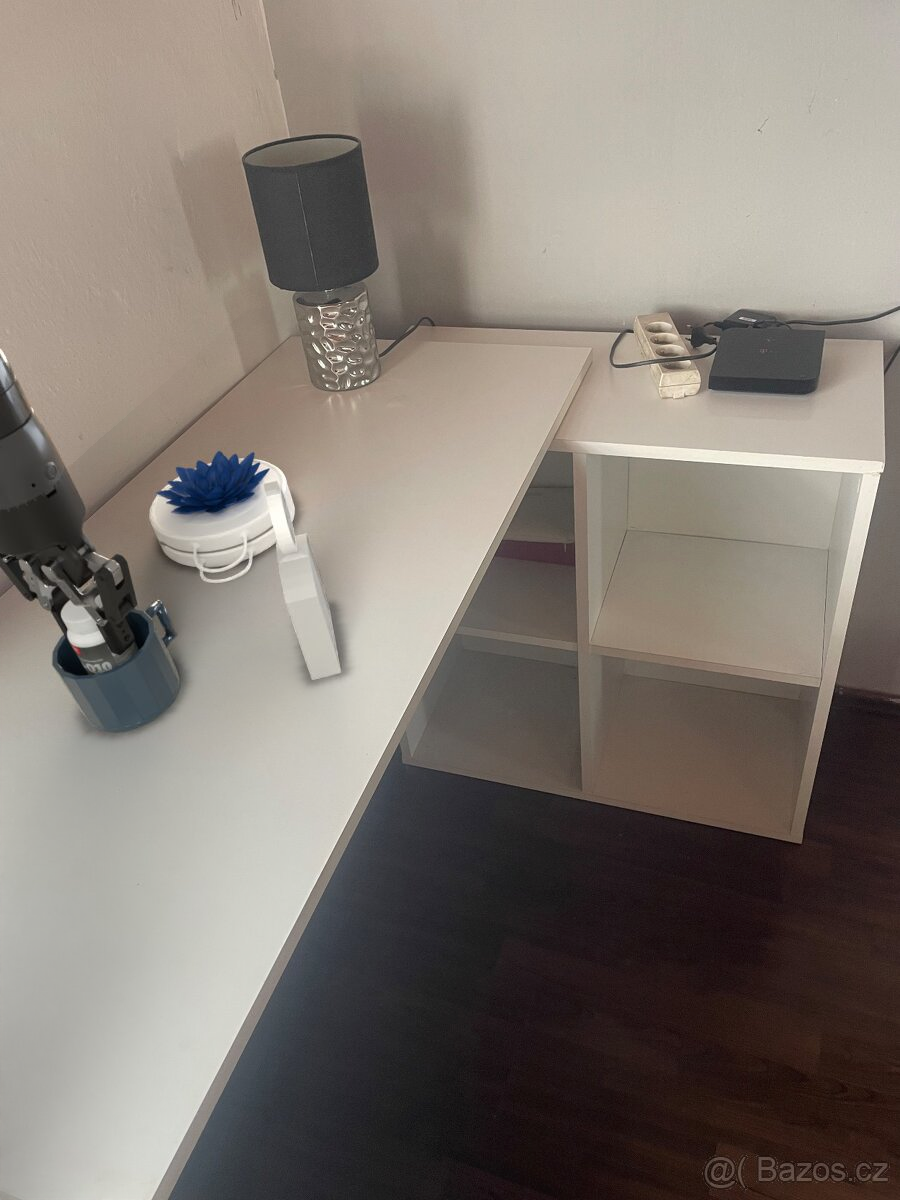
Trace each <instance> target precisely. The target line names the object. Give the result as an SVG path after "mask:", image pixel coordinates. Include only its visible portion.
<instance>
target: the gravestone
mask: <svg viewBox="0 0 900 1200" xmlns="http://www.w3.org/2000/svg"><path fill="white" fill-rule="evenodd" d="M264 489H265V494H266V498H267V504H268V508H269V513H270V517H271V521H272V524H273V528H274V531H275V535H276V538H277V541H276V543H275V550H276V559H277V567H278V572H279V579H280V583H281V589H282V593H283V594H282V595H283V598H284V603H285V606H286V610H287V611H288V615H289V618H290V621H291V623H292V626H293V629H294V631H295V635H296V637H297V641H298V643H299V647H300V649H301V650H300V651H301V652H302V655H303V658H304V661H305V665H306V667H307V670H308V672H309V676H310V678H311V681H316V680H318V679H319V680H320V679H324V678H327V677H331V676H335V675H340V674H342V668H341V662H340V657H339V652H338V646H337V641H336V640H337V639H336V636H335V629H334V624H333V617H332V613H331V608H330V605H329V601H328V598H327V594H326V592H325V588H324V584H323V581H322V577H321V575H320V571H319V568H318V565H317V562H316V558H315V554H314V551H313V549H312V546H311V545H312V544H311V542H310V541H311V540H310V538H309V535H308V533H307V532H305V533H301V534H296V533H295V529H294V525H293V524H294V523H293V522H292V520H291V516H290V512H289V508H288V505H287V502H286V498H285V495H284V492H283V490H282V487H281V485H280V484H278V482H277V481H274V482H270V483H266V484H264Z"/></svg>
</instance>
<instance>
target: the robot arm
mask: <svg viewBox="0 0 900 1200" xmlns="http://www.w3.org/2000/svg"><path fill="white" fill-rule="evenodd" d="M86 510H87V509H86V506H85V503H84V500H83V499H82V497H81V495H80V493H79V491H78V489H77V487H76V484H75V483H74V480H73V479H72V477H71V475H70V473H69V471H68V468H67V467H66V465H65V463H64V461H63V459H62V457H61V454H60V453H59V451H58V449H57V447H56V445H55V443H54V441H53V439H52V437H51V435H50V434H49V432H48V430H47V429H46V427H45V426H44V424H43V422H42V421H41V420H40V419H39V417H38V416H37V413H36V412H35V411H34V408H33V407H32V404H31V403H30V401H29V398H28V397H27V395H26V393H25V391H24V389H23V387H22V385H21V383H20V380H19V379H18V377H17V376H16V373H15V371H14V370H13V367H12V365H11V364H10V361H9V360H8V358H7V356H6V354H5V353H4V351H3V350H2V348H1V347H0V569H1V570H2V571H3V573H4V574H5V575H6V576H7V577H8V580H10V581H11V582H12V584H13V586H14V587H16V589H17V591H19V593H20V594H21V596H23V598H25V600H27V601H29V602H33V601H35V600H38V602H39V605H40V606H41V607H42V609H44V610H45V611H47V612H50V613H51V615H52V616H53V618H54V620H55V622H56V624H57V626H58V627H59V628H60V630H61V632H62V634H63V635H65V637H66V639H68V637H67V630H68V629H67V627H66V625H65V623H64V621H63V619H62V617H61V611H62V609H63V607H64V605H65V604H66V603H67V602H68V601H69V600H71V602H72V603H73V604H74V605H75V606H83V607H84V608H85V610H86V611H87V612H88V613H89V615H90V616H91V617H92V618H93V619H94V621H95V622H96V623H97V624H96V625H97V627H98V629H99V631H100V633H101V635H102V636H103V638H104V640H105V642H106V644H107V645H108V647H109V649H110V651H111V652H112V653H114V654H117V655H122V654H123V653H124V652H125V651H126V650H127V649H128V648H129V647H130V646H131V645H132V644H133V642H134V640H135V638H134V634H133V633H132V631H131V629H130V628H129V625H128V623H127V621H126V619H125V616H126V615H127V614H128V613H129V612H131V611H132V610H133V609H136V608H137V607H138V605H139V604H138V600H137V599H138V598H137V595H136V591H135V588H134V582H133V580H132V575H131V571H130V568H129V563H128V561H127V559H126V558H125V557H124V556H123V555H121V554H120V553H115V554H114V555H113V556H112V557H111V558H107V557H105V556H102V555H100V554H98V553H97V550H96V547H95V546H94V545H93V544H92V542H91V541H90V540H89V539H88V538H87V536H86V535H85V534H84V532H83V526H84V521H85V517H86V513H87V511H86ZM24 575H25V578H26V579H25V578H24ZM92 578H93V580H92V581H91V579H92ZM89 581H91V583H90V584H89V585H88V586H87V587H86V588H84V590H82V591H80V589H81V588H83V587H84V586H85V585H86V584H87V583H88V582H89ZM98 595H100V599H101V602H102V605H103V607H102V608H101V609H100V608H99V607H98V605H97V604H96V603H95V598H96V597H97V596H98Z"/></svg>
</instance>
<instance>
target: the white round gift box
mask: <svg viewBox="0 0 900 1200" xmlns="http://www.w3.org/2000/svg"><path fill="white" fill-rule="evenodd" d="M175 471H176V474H177V476H178V477H176V478H174V479H173V480H168V481H167V482H166V483H167V484H166V486H164V487H163V488H162V489H161V490H159V491H156V492H155V494H156V496H155V498H154V499H153V501H152V502H151V505H150V509H149V511H148V512H149V513H148V515H149V516H148V517H149V522H150V524H151V526H152V529H153V531H154V534H155V535H156V538H157V540H156V542H157V543H158V544H159V545H160V546H161V549H162V551H163V552H164V554H165V555H166V557H168V558H169V559H170V560H171V561H173V562H175V563H178V564H180V565H183V566H187V567H192V568H197V569H198V570H199V576H200V578H201V580H202V581H204V582H205V583H209V584H222V583H227V582H231V581H233V580H235V579H236V580H237V579H238V578H240V577H242V576H243V575H245V574H246V573H248V571H249V570H250V569H251V567H252V564H253V557H255V556H257V555H259V554H261V553H264V552H265V551H266V550H268V549H269V548H271V547H272V546H274V545H276V541H277V538H276V535H275V531H274V528H273V524H272V521H271V517H270V513H269V508H268V504H267V498H266V494H265V489H264V484H266V483H270V482H274V481H277V482H278V484H280V485H281V487H282V490H283V492H284V495H285V498H286V502H287V505H288V508H289V512H290V516H291V520H292V523H293V521H294V519H295V515H296V508H295V504H294V499H293V497H292V494H291V491H290V487H289V484H288V480H287V478H286V475H285V474H284V472H283V471H282V470H281V469H280V468H279V467H277V466H276V465H274V464H272V463H270V462H268V461H265V460H261V459H257V458H255V452H253V451H252V452H250V453H249V454H247V456H245V458H244V457H242V458H241V457H240V458H239V456H238V454H237V453H234V454H232V455H231V456H230V457H229V458H228V457H227V456H226V455H224V453H223V452H222V451H220V450H218V451H217V452H216V453H215V454H214V456H213V458H212V460H211V462H209V463H206V462H204V461H202V460H197V461H196V464H195V468H192V467H188V468H186V467H181V466H176V467H175ZM247 560H248V564H247V566H246V567H245V568H244V569H242V570H241V571H240V572H237V573H236V574H234V575H231V576H229V577H225V578H221V579H211V578H208V577H206V576H205V575H204V573H210V574H212V573H213V574H215V573H216V574H217V573H222V572H226V571H228V570H231V569H232V568H234V567H236V566H238V565H239V564H240V563H241V562H243V561H247ZM219 567H221V568H219Z"/></svg>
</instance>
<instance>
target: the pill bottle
mask: <svg viewBox="0 0 900 1200" xmlns="http://www.w3.org/2000/svg"><path fill="white" fill-rule="evenodd" d="M95 603H96V604H97V605H98V607H99V608H100V609H101V608H102V607H103V605H102V602H101V599H100V595H98V596H97V597H96V598H95ZM61 617H62V619H63V621H64V623H65V625H66V627H67V629H68V630H67V637H68V640H69V642H70V644H71V645H72V647H73V649H74V650H75V652H76V654H77V656H78V657H79V659H80V661H81V663H82V664H83V666H84V668H85V669H86V671H87V673H88V674H89V675H96V674H99V673H102V672H105V671H109V670H112V669H115V668H116V667H118V666H119V665H121V664H123V663H124V662H126V661H128V660H129V659H131V658H132V657H133V656H134V655H135V654H136V653H137V652H138V651H139V649H138V647H137V645H136V643H135V641H134V642H133V644H132V645H131V646H130V647H129V648H128V649H127V650H126V651H125V652H124V653H123V654H122V655H117V654H114V653H112V652H111V651H110V649H109V647H108V645H107V644H106V642H105V640H104V638H103V636H102V635H101V633H100V631H99V629H98V627H97V625H96V624H97V623H96V622H95V621H94V619H93V618H92V617H91V616H90V615H89V613H88V612H87V611H86V610H85V608H84V607H83V606H75V605H74V604H73V603H72V602H71V600H69V601H68V602H67V603H66V604H65V605H64V607H63V609H62V611H61Z"/></svg>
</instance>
